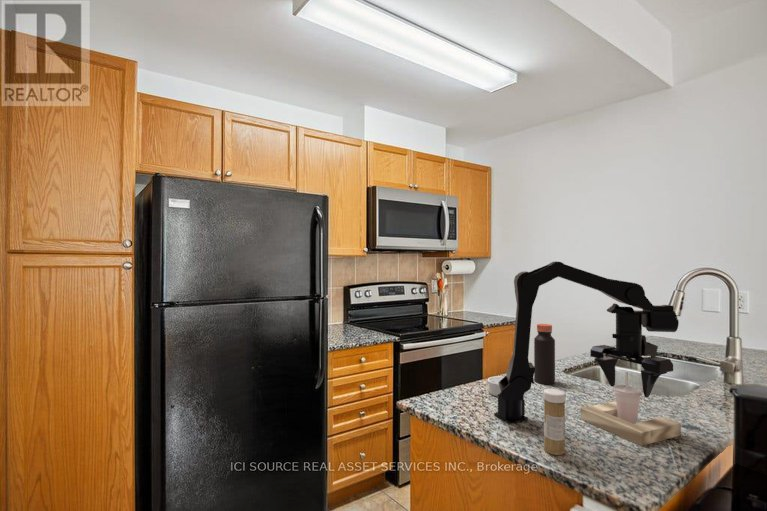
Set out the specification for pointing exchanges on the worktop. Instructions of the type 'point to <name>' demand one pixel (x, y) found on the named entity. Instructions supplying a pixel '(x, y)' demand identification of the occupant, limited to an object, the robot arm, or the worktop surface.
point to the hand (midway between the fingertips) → (628, 391)
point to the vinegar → (544, 355)
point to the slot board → (630, 424)
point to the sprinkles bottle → (554, 421)
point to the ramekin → (494, 385)
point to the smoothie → (627, 401)
